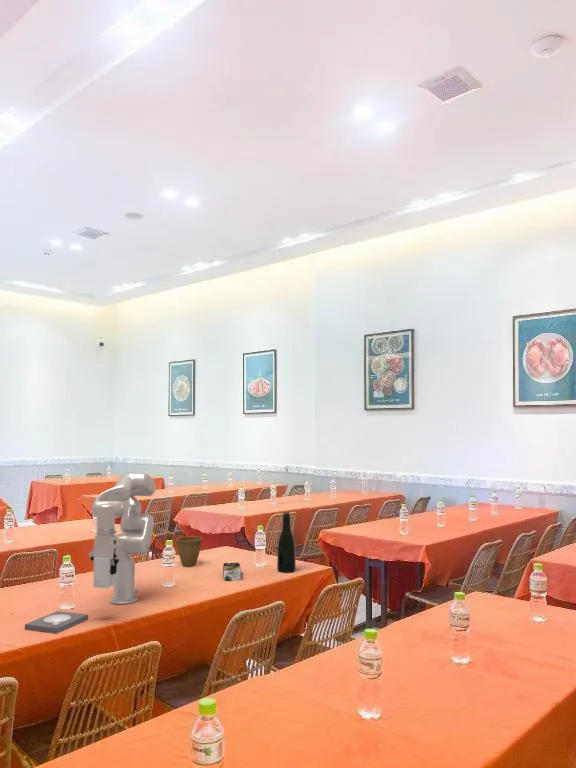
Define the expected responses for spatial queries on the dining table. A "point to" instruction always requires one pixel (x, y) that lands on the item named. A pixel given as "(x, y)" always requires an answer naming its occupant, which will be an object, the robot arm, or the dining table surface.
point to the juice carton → (231, 571)
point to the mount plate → (56, 621)
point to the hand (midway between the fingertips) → (105, 572)
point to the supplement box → (103, 573)
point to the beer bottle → (286, 547)
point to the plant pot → (189, 550)
